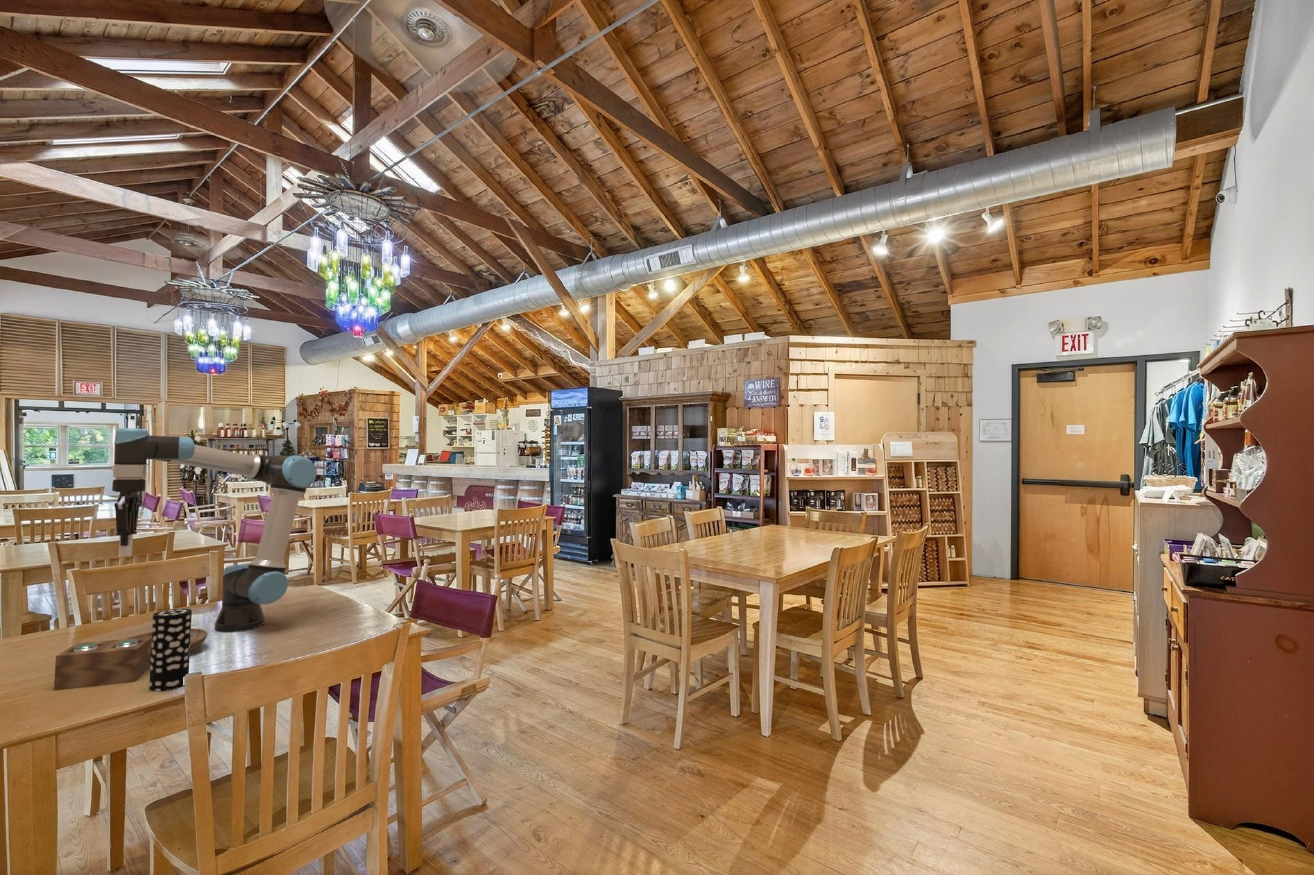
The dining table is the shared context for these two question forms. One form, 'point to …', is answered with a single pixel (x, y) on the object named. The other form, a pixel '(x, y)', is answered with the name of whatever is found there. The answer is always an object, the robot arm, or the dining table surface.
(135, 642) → the peg
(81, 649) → the peg
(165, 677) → the white-spotted black cylinder
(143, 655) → the walnut block
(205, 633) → the ceramic bowl
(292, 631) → the dining table surface
